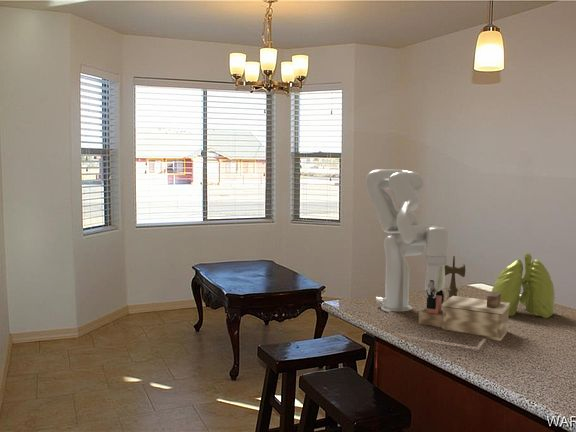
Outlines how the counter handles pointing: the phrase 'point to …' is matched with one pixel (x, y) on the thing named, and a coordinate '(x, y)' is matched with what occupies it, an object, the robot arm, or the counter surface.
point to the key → (437, 305)
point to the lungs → (527, 287)
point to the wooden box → (468, 321)
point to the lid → (479, 303)
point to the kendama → (453, 270)
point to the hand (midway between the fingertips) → (435, 306)
